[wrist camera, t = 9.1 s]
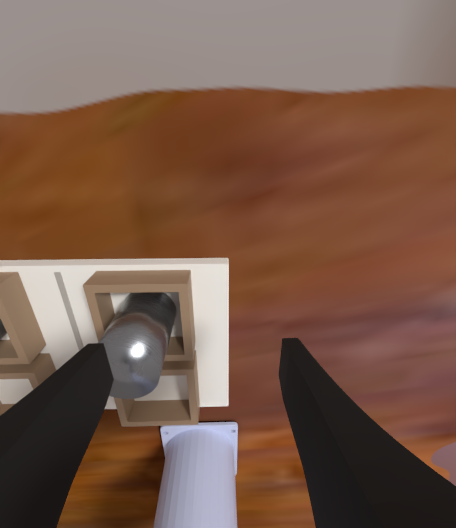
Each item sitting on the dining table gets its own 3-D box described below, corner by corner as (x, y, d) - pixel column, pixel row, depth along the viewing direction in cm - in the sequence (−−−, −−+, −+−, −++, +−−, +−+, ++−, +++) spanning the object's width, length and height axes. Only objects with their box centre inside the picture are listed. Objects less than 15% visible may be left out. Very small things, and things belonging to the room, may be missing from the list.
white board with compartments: (228, 396, 25) (230, 480, 19) (-21, 402, 25) (-103, 491, 19) (228, 257, 19) (232, 315, 13) (-107, 261, 18) (-278, 323, 12)
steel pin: (176, 332, 21) (160, 400, 15) (124, 329, 20) (90, 397, 15) (176, 289, 19) (159, 348, 14) (121, 285, 19) (80, 344, 13)
